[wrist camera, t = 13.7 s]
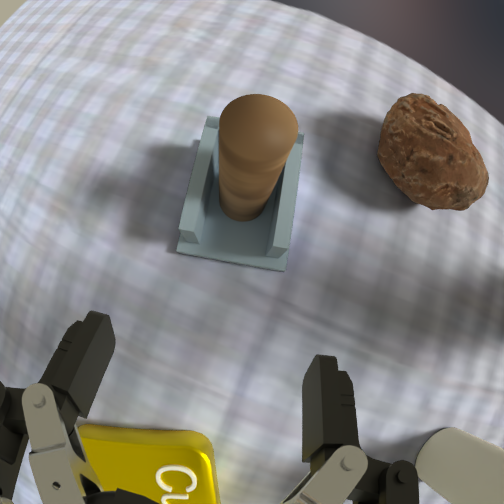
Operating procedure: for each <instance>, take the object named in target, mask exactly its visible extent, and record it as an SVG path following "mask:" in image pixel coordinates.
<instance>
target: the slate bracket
mask: <svg viewBox="0 0 504 504" xmlns="http://www.w3.org/2000/svg"><path fill="white" fill-rule="evenodd" d="M219 120H220V118H219V117H211V116H207V119H206V123H205V126H204V130H203V133H202V137H201V140H200V144H199V148H198V151H197V155H196V159H195V162H194V166H193V170H192V174H191V178H190V182H189V186H188V190H187V194H186V198H185V202H184V207H183V211H182V215H181V219H180V224H179V228H178V229H179V231H180V236H179V241H178V246H177V250H176V251H177V252H178V253H181V254H187V255H192V256H198V257H203V258H209V259H214V260H220V261H225V262H231V263H236V264H242V265H247V266H253V267H259V268H264V269H270V270H276V271H281V272H284V271H286V265H287V259H288V252H289V245H290V239H291V232H292V225H293V218H294V211H295V204H296V196H297V189H298V181H299V174H300V166H301V158H302V148H303V139H304V133H302V132H298V136H297V139H296V141H295V143H294V145H293V148H292V150H291V152H290V154H289V156H288V158H287V160H286V163H285V165H284V167H283V169H282V171H281V173H280V176H279V178H278V180H277V182H276V184H275V186H274V189H273V191H272V193H271V195H270V197H269V199H268V202H267V204H266V206H265V208H264V210H263V212H262V213H261V214H260V215H259V216H258V217H257V218H255V219H253V220H251V221H246V222H240V221H236V220H233V219H231V218H229V217H228V216H227V215H226V214H225V213H224V212H223V211H222V209H221V207H220V203H219Z"/></svg>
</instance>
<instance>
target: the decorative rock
mask: <svg viewBox="0 0 504 504" xmlns="http://www.w3.org/2000/svg"><path fill="white" fill-rule="evenodd" d="M377 156H378V158H379V160H380V163H381V165H382V166H383V168H384V169H385V170H386V172H387V173H388V175H389V176H390V178H391V179H393V182H394V184H395V185H396V186H397V187H398V188H399V189H401V191H402V192H403V193H404V194H406V195H407V196H408V197H409V198H410V199H411V200H412V202H415V203H417V204H421V205H424V206H426V207H428V208H430V209H431V210H435V209H453V210H459V211H461V210H465V209H467V208H469V207H470V205H471V204H472V203H474V202H475V201H476V200H478V199H480V198H481V197H482V196H483V194H484V193H485V189H486V187H487V185H488V180H489V176H488V172H487V169H486V167H485V165H484V162H483V159H482V157H481V155H480V153H479V151H478V150H477V149H476V147H475V146H474V145H473V143H472V140H471V136H470V133H469V131H468V130H467V128H466V127H465V126H464V125H463V124H462V122H461V121H460V120H459V119H458V118H457V117H456V116H455V115H454V114H453V113H452V112H451V111H449V109H448V108H447V107H446V106H444V105H443V104H440V105H437V103H436V102H435V101H434V100H433V99H431V98H430V96H427V95H423V94H415V93H411V94H409V95H407V96H404V97H400V98H399V99H398V100H397V102H396V103H395V104H394V105H393V106H392V107H391V109H390V111H388V112H387V115H386V117H385V119H384V123H383V126H382V130H381V136H380V141H379V148H378V151H377Z"/></svg>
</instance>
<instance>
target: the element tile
mask: <svg viewBox="0 0 504 504" xmlns="http://www.w3.org/2000/svg"><path fill="white" fill-rule="evenodd" d="M77 429H78V432H79V435H80V438H81V441H82V444H83V447H84V450H85V452H86V455H87V458H88V460H89V463H90V465H91V467H92V468H93V470H94V471H95V473H96V475H97V477H98V479H99V481H100V483H101V486H102V488H103V490H104V491H116V490H117V488H120V489H123V490H126V491H129V492H133V493H136V494H139V495H143V496H146V497H147V498H149V499H151V500H153V501H155V502H157V503H159V504H221V502H220V495H219V488H218V481H217V474H216V467H215V459H214V451H213V447H212V444H211V442H210V441H209V439H208V438H207V437H206V436H204V435H203V434H201V433H198V432H195V431H185V430H150V429H133V428H121V427H111V426H102V425H94V424H84V425H81V426H79V427H78V428H77Z"/></svg>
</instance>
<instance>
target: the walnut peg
mask: <svg viewBox="0 0 504 504" xmlns="http://www.w3.org/2000/svg"><path fill="white" fill-rule="evenodd" d="M297 136H298V123H297V120H296V117H295V115H294V114H293V112H292V111H291V109H290V108H289V107H288V106H287V105H285V104H284V103H283V102H281V101H280V100H278V99H276V98H273V97H271V96H267V95H262V94H250V95H245V96H241V97H239V98H237V99H235V100H233V101H232V102H230V103H229V104H228V105H227V106H226V107H225V108H224V110H223V112H222V114H221V116H220V120H219V203H220V207H221V209H222V211H223V212H224V213H225V214H226V215H227V216H228V217H229V218H231V219H233V220H236V221H240V222H246V221H251V220H253V219H255V218H257V217H258V216H259V215H260V214H261V213H262V212H263V210H264V208H265V206H266V204H267V202H268V199H269V197H270V195H271V193H272V191H273V189H274V186H275V184H276V182H277V180H278V178H279V176H280V173H281V171H282V169H283V167H284V165H285V163H286V160H287V158H288V156H289V154H290V152H291V150H292V148H293V145H294V143H295V141H296V139H297Z"/></svg>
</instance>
